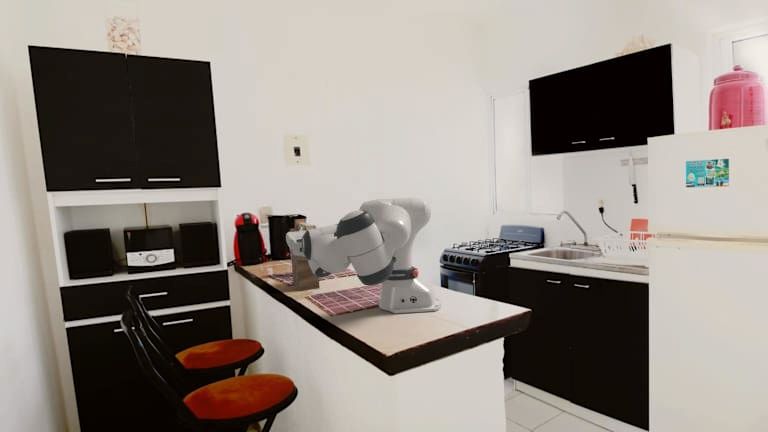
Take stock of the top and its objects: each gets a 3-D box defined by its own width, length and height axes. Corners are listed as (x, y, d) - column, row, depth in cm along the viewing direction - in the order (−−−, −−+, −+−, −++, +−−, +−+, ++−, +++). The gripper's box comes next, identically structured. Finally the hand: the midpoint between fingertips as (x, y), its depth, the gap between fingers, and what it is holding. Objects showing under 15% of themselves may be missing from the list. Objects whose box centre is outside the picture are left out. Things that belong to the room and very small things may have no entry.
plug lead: (315, 231, 172) (314, 222, 172) (305, 232, 170) (304, 223, 170) (303, 227, 195) (303, 219, 195) (295, 228, 194) (294, 219, 193)
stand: (319, 288, 183) (316, 229, 181) (299, 291, 180) (295, 231, 178) (312, 281, 198) (308, 227, 196) (293, 283, 194) (289, 228, 193)
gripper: (341, 238, 166) (332, 219, 177) (289, 242, 159) (284, 222, 169) (339, 250, 169) (331, 231, 180) (289, 255, 162) (283, 235, 172)
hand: (308, 227), depth 175 cm, fingers open, 4 cm apart
